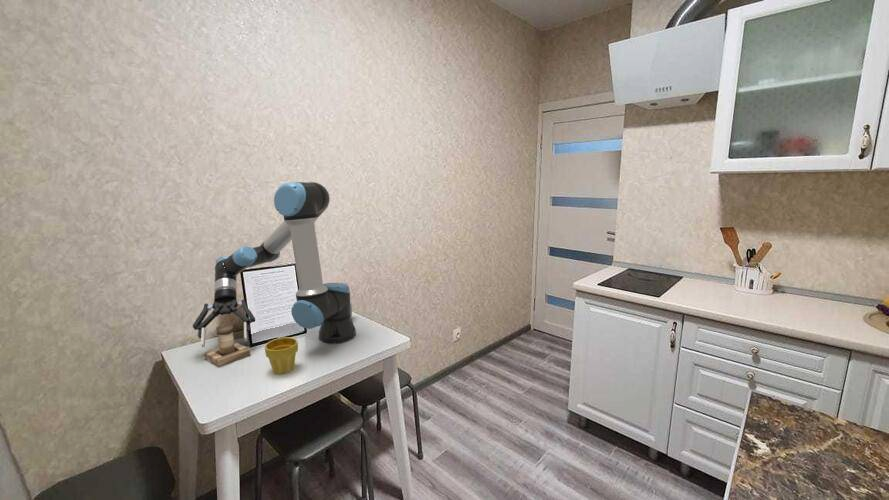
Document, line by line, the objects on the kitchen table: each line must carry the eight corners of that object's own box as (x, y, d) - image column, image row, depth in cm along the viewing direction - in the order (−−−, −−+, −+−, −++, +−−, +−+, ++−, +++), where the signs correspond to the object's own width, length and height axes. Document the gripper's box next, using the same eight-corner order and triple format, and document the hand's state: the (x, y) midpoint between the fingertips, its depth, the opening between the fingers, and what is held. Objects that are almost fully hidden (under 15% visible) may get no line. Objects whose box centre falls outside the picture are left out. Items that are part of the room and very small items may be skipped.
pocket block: (250, 355, 136) (249, 349, 135) (219, 367, 127) (218, 360, 126) (236, 347, 142) (235, 341, 141) (205, 358, 133) (204, 352, 132)
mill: (238, 356, 135) (235, 326, 133) (223, 361, 131) (220, 330, 128) (231, 352, 138) (228, 323, 135) (217, 357, 133) (213, 327, 131)
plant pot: (278, 380, 119) (276, 352, 117) (260, 371, 124) (258, 345, 122) (305, 367, 127) (303, 341, 126) (287, 359, 133) (285, 334, 131)
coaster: (251, 342, 146) (251, 341, 146) (233, 348, 141) (233, 347, 141) (242, 338, 150) (242, 337, 150) (224, 344, 145) (224, 343, 145)
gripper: (261, 292, 151) (263, 340, 140) (190, 300, 141) (186, 352, 130) (259, 284, 145) (261, 332, 135) (185, 291, 135) (181, 344, 124)
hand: (224, 342), depth 132 cm, fingers open, 13 cm apart
